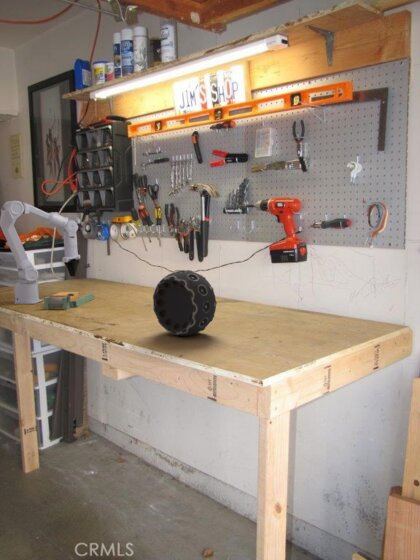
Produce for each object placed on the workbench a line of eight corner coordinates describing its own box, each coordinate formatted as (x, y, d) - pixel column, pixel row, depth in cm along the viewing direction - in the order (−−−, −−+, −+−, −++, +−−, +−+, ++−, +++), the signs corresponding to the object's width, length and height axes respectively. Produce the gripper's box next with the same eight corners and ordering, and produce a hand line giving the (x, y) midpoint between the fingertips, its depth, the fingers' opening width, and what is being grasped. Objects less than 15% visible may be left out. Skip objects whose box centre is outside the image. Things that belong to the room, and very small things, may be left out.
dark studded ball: (173, 326, 169) (171, 267, 166) (221, 335, 157) (219, 270, 154) (150, 333, 161) (147, 271, 158) (198, 343, 149) (196, 275, 146)
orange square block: (52, 307, 211) (52, 295, 210) (61, 303, 219) (60, 292, 218) (71, 307, 209) (70, 295, 209) (79, 303, 217) (78, 291, 217)
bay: (39, 309, 205) (38, 294, 204) (66, 298, 229) (65, 284, 228) (72, 309, 203) (71, 294, 202) (95, 298, 226) (94, 284, 225)
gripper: (72, 247, 222) (74, 278, 224) (85, 245, 236) (87, 274, 238) (57, 248, 223) (59, 278, 225) (71, 245, 237) (73, 274, 239)
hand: (72, 276), depth 232 cm, fingers closed
